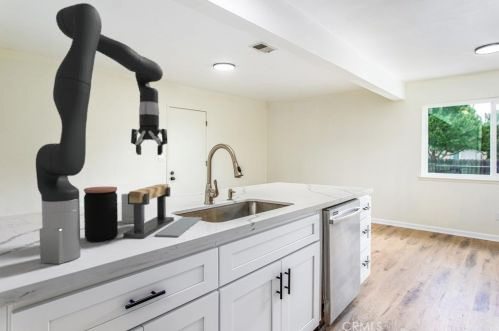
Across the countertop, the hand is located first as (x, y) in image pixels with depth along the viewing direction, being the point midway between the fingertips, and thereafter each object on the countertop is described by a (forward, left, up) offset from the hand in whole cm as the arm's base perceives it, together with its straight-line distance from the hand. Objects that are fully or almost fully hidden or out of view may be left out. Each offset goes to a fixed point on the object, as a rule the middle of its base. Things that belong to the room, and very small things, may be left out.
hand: (149, 154), depth 120 cm
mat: (+4, -12, -30) cm, 32 cm away
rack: (0, -1, -30) cm, 30 cm away
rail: (0, -1, -17) cm, 17 cm away
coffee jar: (-16, +10, -30) cm, 36 cm away
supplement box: (+10, +12, -30) cm, 34 cm away
